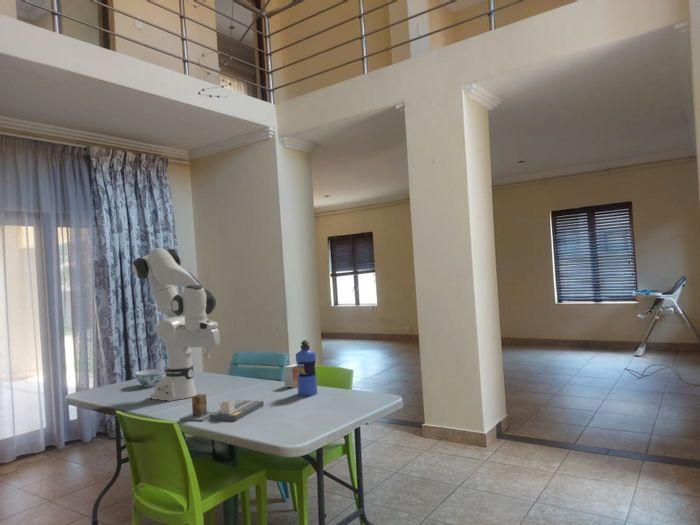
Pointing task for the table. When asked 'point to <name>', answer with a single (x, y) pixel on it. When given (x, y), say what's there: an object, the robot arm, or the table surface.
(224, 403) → the switch tab
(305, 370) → the water bottle
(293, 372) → the small box
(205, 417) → the mat
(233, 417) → the switch panel
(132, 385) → the table surface
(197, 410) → the wooden block
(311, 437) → the table surface
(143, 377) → the chinaware
